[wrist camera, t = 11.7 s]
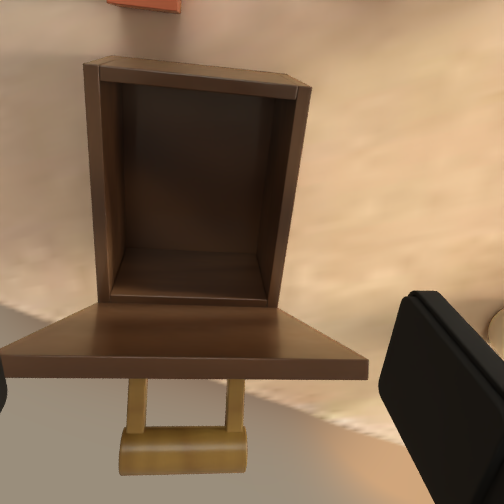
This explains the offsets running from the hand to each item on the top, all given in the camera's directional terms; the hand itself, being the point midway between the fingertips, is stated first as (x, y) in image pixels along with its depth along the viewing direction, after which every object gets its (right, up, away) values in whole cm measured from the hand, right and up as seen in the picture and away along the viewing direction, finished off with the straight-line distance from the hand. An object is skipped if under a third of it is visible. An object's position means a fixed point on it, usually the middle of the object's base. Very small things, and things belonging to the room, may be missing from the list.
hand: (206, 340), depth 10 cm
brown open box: (-4, +9, +28) cm, 30 cm away
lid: (-2, -2, +15) cm, 15 cm away
